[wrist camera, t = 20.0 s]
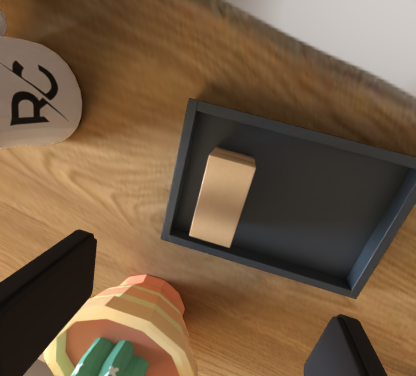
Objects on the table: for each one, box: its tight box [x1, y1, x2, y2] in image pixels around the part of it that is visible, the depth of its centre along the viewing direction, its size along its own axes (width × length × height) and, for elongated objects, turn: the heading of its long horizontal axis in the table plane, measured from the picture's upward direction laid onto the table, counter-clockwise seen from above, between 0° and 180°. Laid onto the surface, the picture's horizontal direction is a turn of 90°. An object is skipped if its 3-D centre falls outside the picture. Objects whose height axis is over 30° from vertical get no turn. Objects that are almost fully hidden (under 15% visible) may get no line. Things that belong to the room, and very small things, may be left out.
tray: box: [161, 98, 416, 299], centre depth 21 cm, size 20×14×2 cm
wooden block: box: [189, 146, 256, 248], centre depth 20 cm, size 7×4×4 cm, turn 166°
